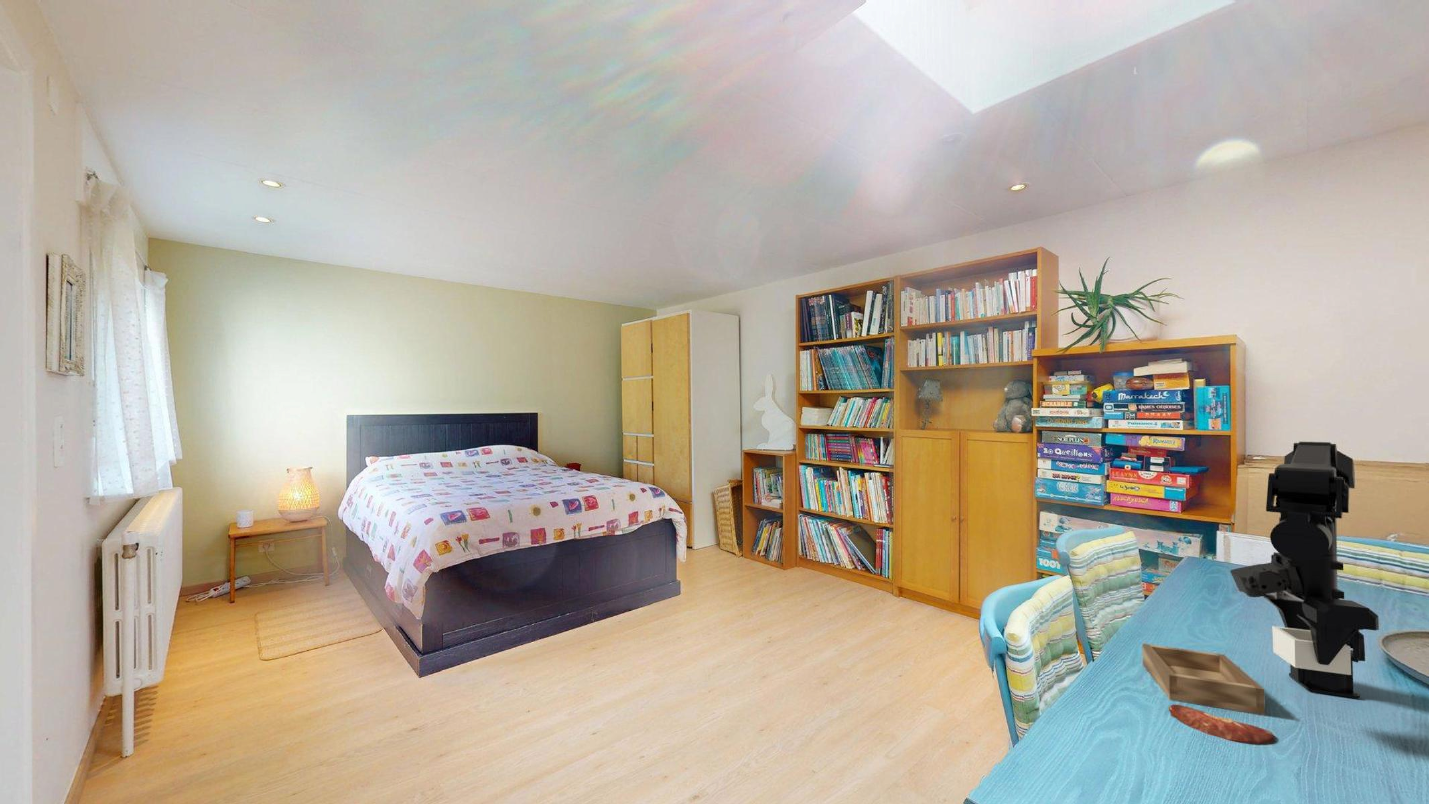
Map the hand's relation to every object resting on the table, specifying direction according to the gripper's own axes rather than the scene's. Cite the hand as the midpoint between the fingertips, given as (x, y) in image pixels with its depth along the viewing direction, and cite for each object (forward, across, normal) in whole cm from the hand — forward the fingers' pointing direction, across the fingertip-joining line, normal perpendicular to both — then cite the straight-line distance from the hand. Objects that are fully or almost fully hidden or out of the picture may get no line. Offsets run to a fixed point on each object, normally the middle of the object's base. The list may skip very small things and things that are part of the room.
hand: (1309, 655), depth 83 cm
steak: (+12, +4, -12) cm, 18 cm away
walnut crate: (+11, -10, -10) cm, 18 cm away
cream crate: (+1, 0, 0) cm, 1 cm away
